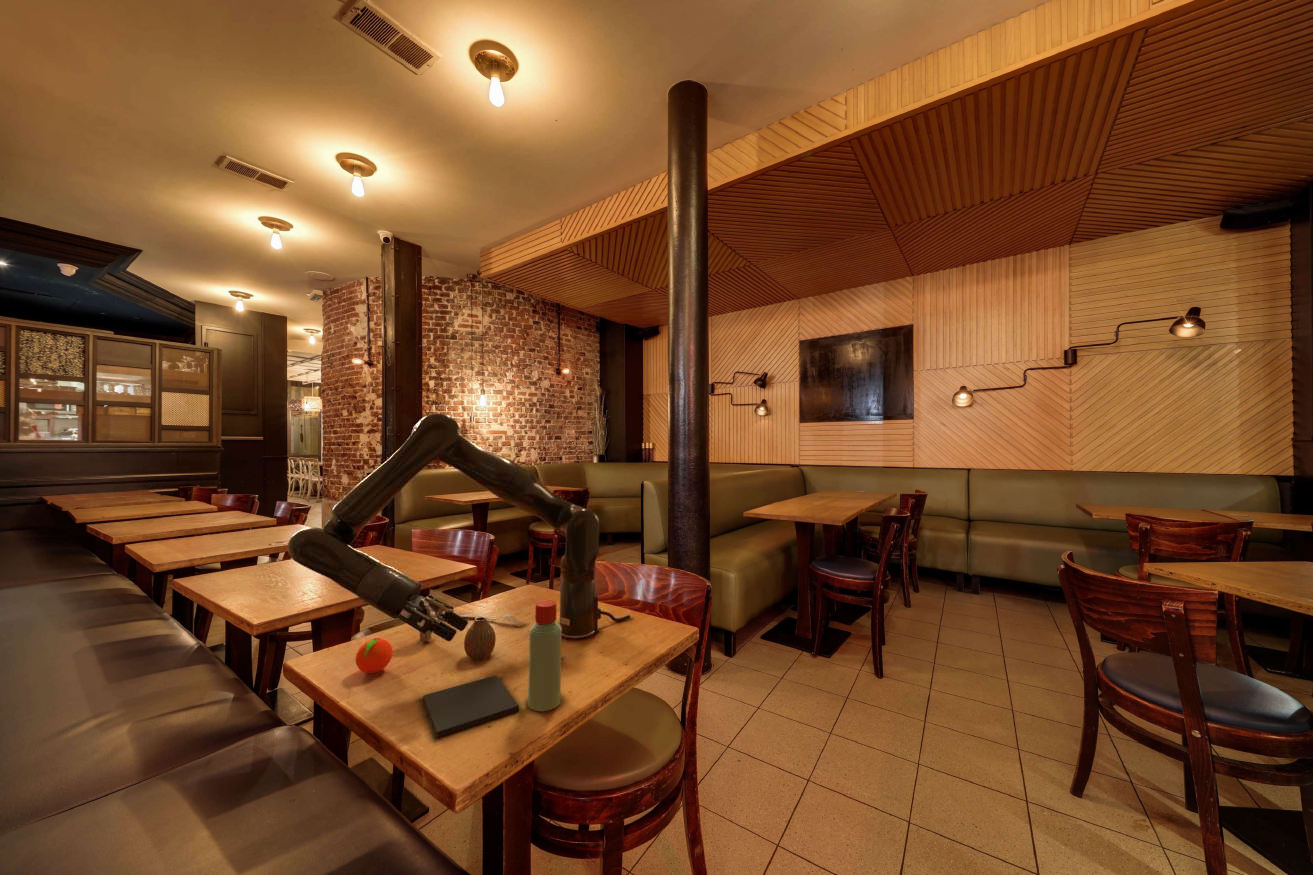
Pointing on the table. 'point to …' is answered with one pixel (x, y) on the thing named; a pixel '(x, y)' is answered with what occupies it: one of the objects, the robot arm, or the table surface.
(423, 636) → the lightbulb
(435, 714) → the coaster
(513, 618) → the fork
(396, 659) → the table surface
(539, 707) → the bottle
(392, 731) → the table surface
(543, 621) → the cap
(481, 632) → the vase
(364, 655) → the clementine
